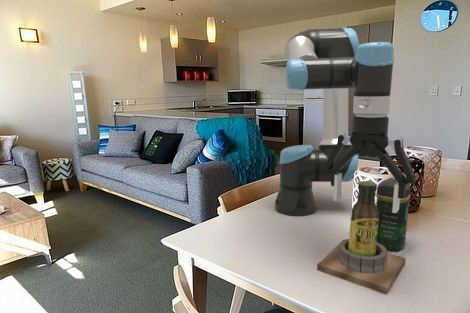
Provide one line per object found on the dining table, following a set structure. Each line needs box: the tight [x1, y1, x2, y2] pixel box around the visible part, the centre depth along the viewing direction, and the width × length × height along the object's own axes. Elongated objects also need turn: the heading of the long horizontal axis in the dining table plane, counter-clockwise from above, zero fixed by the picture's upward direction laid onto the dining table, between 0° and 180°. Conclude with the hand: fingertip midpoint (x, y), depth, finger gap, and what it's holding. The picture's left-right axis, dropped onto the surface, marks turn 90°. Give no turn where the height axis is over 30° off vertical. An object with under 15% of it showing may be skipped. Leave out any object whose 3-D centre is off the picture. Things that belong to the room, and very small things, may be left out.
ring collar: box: [316, 238, 406, 295], centre depth 80 cm, size 16×16×5 cm
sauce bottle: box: [348, 180, 379, 257], centre depth 78 cm, size 6×6×20 cm
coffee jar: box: [375, 177, 411, 251], centre depth 90 cm, size 10×8×19 cm
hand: (364, 204), depth 77 cm, fingers open, 13 cm apart
